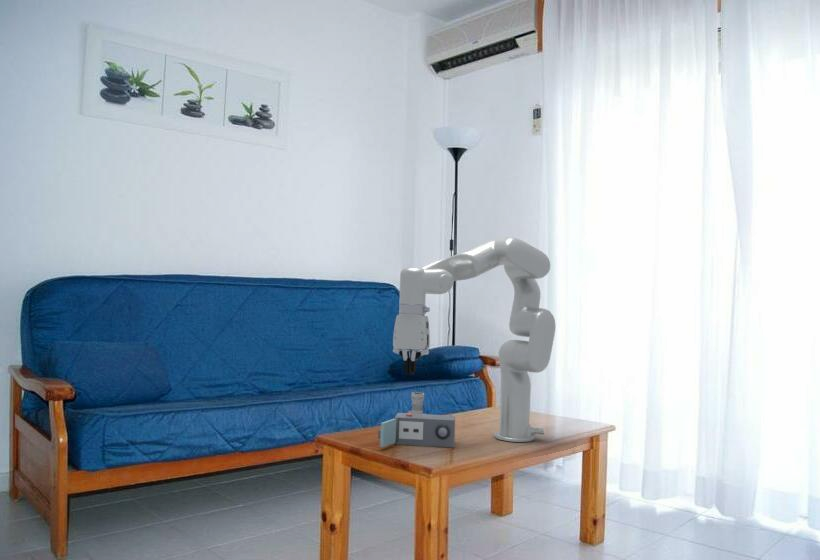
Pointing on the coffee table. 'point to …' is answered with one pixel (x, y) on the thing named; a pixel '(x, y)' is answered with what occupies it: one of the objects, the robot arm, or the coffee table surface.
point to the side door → (387, 433)
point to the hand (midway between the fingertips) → (409, 374)
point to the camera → (417, 403)
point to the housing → (425, 430)
